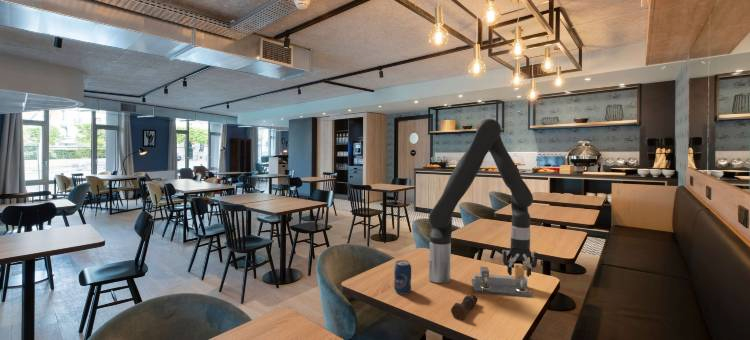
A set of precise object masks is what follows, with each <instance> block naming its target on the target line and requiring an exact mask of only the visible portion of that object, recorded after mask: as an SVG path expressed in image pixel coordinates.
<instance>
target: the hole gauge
mask: <svg viewBox="0 0 750 340" xmlns="http://www.w3.org/2000/svg"><path fill="white" fill-rule="evenodd" d="M479 269H480V271H479V273H474V278H471V284H472V287H473V291H474V293H475V294H486V295H487V294H489V295H500V296H501V295H502V296H514V297H524V298H525V297H527V298H533V294H532V292H531V291H530V289H529V287H528V279H527V278H528V277H525V276H524V280H523V287H522V288H521V280H519V279H516V278H515V276H514V275H513V276H512V275H499V274H490V270H489V267H488V266H480V268H479Z"/></svg>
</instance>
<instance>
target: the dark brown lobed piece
mask: <svg viewBox="0 0 750 340" xmlns="http://www.w3.org/2000/svg"><path fill="white" fill-rule="evenodd" d="M478 300H479V299H478V297H477V296H476V295H475V294H470V295H468V294H466V295H465V297H464V298H463V299H462V302H461V303H458V302H455V303H453V305H452V307H451V308H450V313H451V314H452V317H453V318H454V319H457V320H458V321H459V320H460V321H463V320H464V319H465V318H466V317H467V315H468V314H469V313H468V311H469V310H473V309H474V308H475V307H476V305H477V303H478Z"/></svg>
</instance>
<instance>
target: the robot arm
mask: <svg viewBox="0 0 750 340" xmlns="http://www.w3.org/2000/svg"><path fill="white" fill-rule="evenodd" d="M501 133H502V127H501V125H500V123H499V122H498V121H497V120H496V119H493V118H486V119H483V120H481V121H480V122H479V123H478V125H477V126H476V131H475V135H474V137H473V139H472V141H471V143H470V146H469V147H468V148H467V150H466V151H465V153H464V154H463V155H462V156H461V158H460V159H459V161H458V162H457V164H456V165H455V167H454V169H453V171H452V173H451V175H450V176H449V178H448V181H447V183H446V185H445V188H444V190H443V192H442V195H441V196H440V197H439V200H438V201H437V202H436V204H435V205H434V207H433V208H432V209H431V210H430V212H429V214H428V221H429V223H430V225H431V226H430V233H429V258H428V261H429V262H428V263H429V264H428V281H429V282H433V283H436V284H447V283H449V282H450V281H451V254H452V253H451V251H452V250H451V247H452V246H451V245H452V233H453V231H452V230H453V213H454V212H455V209H456V207H457V205H458V203H459V202H460V200H461V199H462V198H463V197H464V196H465V194H466V192H467V191H468V190H469V189H470V187H471V185H472V184H473V182H474V181H475V178H476V176H477V174H478V173H479V171H480V169H481V167H482V166H483V165H482V164H483V162H484V160H485V157H487V155H488V152H489V154H490V155H491V157H492V159H493V161H494V163H495V166H496V168H497V171H498V173H499V174H500V176H501V178H502V181H503V182H504V184H505V186H506V187H507V188H508V189H509V191H510V193H511V196H510V207H511V213H512V214H511V215H512V217H511V230H510V247H509V250H506V249H502V251H501V252H502V253H501V255H502V262H503V264H504V266H507V267H506V269H507V270H506V271H507V273H508V276H512V275H513V273H512V272H513V267H512V266H514V264H515V262H520V261H521V262H525V263H526V270H525V271H526V276H527V277H526V278H528V277H530V276H531V275H532V268H537V265H538V257H539V254H538V252H537V251H532V250H531V214H530V212H529V207H530V206H531V205H532V204H533V202H534V197H533V194H532V192H531V190H530V188H529V187H528V185H527V184H526V182H525V181H524V179H523V177H522V175H521V173H520V171H519V170H518V167H517V165H516V163H515V162H514V160H513V159H512V157H511V155H510V154H509V152H508V150H507V149H506V146H505V145H504V143H503V139H502V137H501ZM509 254H510V258H509V260H507V259H508V257H507V256H509ZM530 256H531V257H532V259H531V262H530V261H529V257H530Z"/></svg>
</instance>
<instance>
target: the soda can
mask: <svg viewBox="0 0 750 340" xmlns="http://www.w3.org/2000/svg"><path fill="white" fill-rule="evenodd" d="M393 270H394V273H393V276H394V277H393V279H394V280H393V281H394V283H393V284H394V286H393V288H394V290H395V292H396V293H397V294H400V295H407V294H409V293H410V291H411V290H412V265H411V262H410V261H408V260H396V262H395V264H394V269H393Z"/></svg>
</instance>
